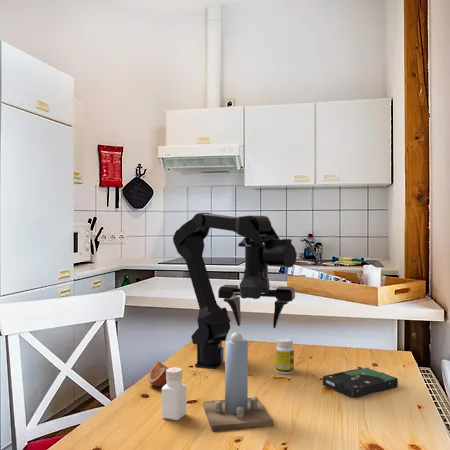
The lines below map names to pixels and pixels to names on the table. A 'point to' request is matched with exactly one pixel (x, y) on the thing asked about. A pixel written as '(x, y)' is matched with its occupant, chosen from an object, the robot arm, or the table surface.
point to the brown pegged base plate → (226, 421)
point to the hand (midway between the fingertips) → (256, 326)
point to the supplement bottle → (284, 356)
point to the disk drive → (360, 382)
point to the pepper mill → (236, 373)
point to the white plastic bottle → (174, 395)
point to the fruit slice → (158, 374)
